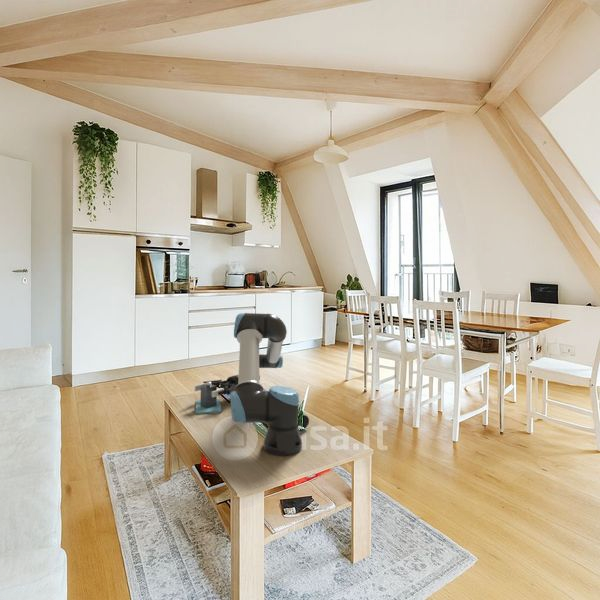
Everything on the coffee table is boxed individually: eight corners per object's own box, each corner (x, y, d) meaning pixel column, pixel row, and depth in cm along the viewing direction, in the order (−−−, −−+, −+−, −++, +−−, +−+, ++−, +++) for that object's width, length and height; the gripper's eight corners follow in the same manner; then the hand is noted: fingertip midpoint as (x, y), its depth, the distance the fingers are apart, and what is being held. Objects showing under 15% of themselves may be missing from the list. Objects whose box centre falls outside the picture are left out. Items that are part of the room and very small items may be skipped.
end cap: (309, 429, 164) (309, 414, 164) (295, 432, 160) (296, 417, 160) (296, 421, 173) (297, 407, 172) (283, 424, 169) (284, 409, 168)
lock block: (206, 408, 182) (207, 384, 181) (200, 406, 185) (200, 382, 184) (216, 405, 187) (216, 382, 186) (210, 403, 190) (210, 380, 189)
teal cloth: (221, 412, 180) (221, 410, 180) (195, 414, 177) (195, 412, 176) (219, 400, 197) (219, 398, 197) (196, 401, 194) (196, 399, 194)
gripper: (252, 394, 192) (219, 405, 175) (220, 384, 207) (188, 393, 191) (252, 380, 191) (220, 389, 175) (221, 371, 207) (188, 378, 190)
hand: (203, 391), depth 183 cm, fingers open, 13 cm apart
